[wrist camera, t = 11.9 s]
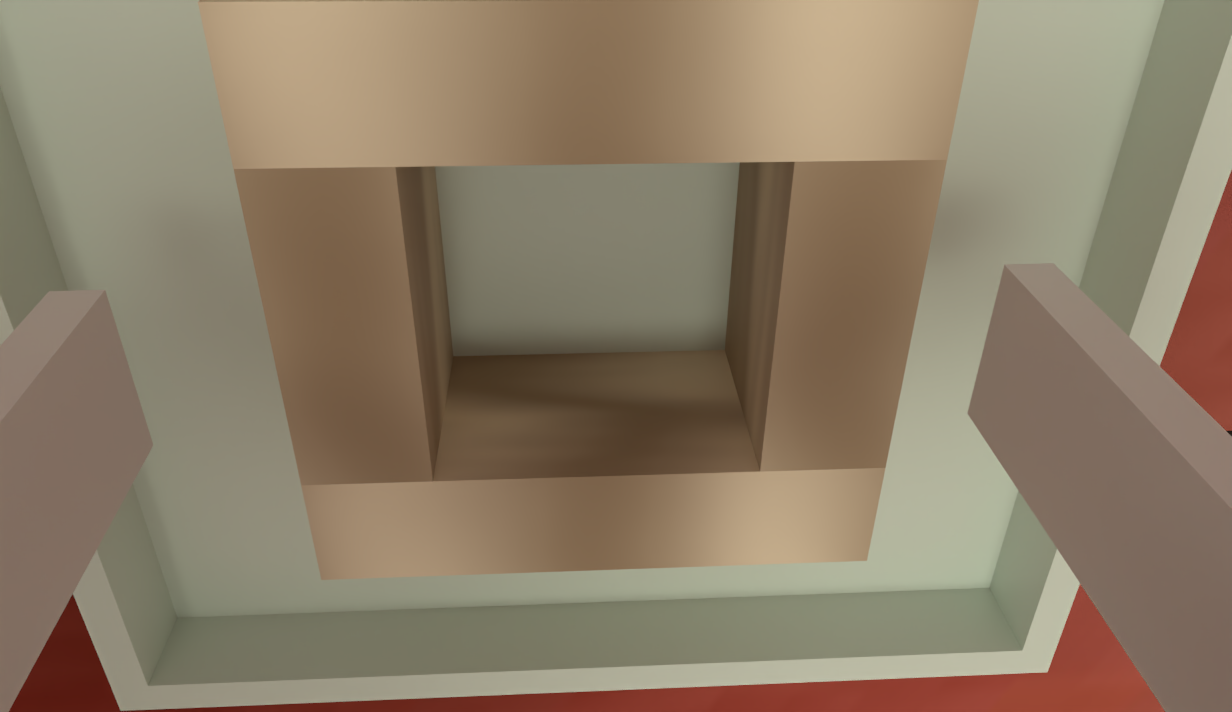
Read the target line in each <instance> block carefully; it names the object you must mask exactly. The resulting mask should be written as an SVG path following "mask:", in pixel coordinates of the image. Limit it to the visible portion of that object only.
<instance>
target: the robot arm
mask: <svg viewBox="0 0 1232 712" xmlns="http://www.w3.org/2000/svg"><path fill="white" fill-rule="evenodd" d="M967 414H968V415H969V417H970V418H971V420H972V421H973V423H974V424H975V426H976V427H977V429H978V430H979V432H980V433H981V435H982V436H983V438H984V439H985V441H986V442H987V444H988V445H989V447H990V448H991V450H992V451H993V453H994V454H995V456H996V457H997V459H998V460H999V462H1000V464H1001V465H1002V467H1003V468H1004V470H1005V471H1006V473H1007V474H1008V476H1009V477H1010V479H1011V480H1012V482H1013V483H1014V485H1015V486H1016V488H1017V489H1018V491H1019V492H1020V494H1021V495H1022V497H1023V498H1024V500H1025V501H1026V503H1027V504H1028V506H1029V507H1030V509H1031V510H1032V512H1033V513H1034V515H1035V516H1036V518H1037V519H1038V521H1039V522H1040V524H1041V525H1042V527H1043V528H1044V530H1045V531H1046V533H1047V534H1048V536H1049V537H1050V539H1051V540H1052V542H1053V543H1054V545H1055V546H1056V548H1057V549H1058V551H1059V552H1060V554H1061V555H1062V557H1063V558H1064V560H1065V561H1066V563H1067V564H1068V566H1069V567H1070V569H1071V570H1072V572H1073V573H1074V575H1075V576H1076V578H1077V579H1078V581H1079V582H1080V584H1081V586H1082V587H1083V589H1084V590H1085V592H1086V593H1087V595H1088V596H1089V598H1090V599H1091V601H1092V602H1093V604H1094V605H1095V607H1096V608H1097V610H1098V611H1099V613H1100V614H1101V616H1102V617H1103V619H1104V620H1105V622H1106V623H1107V625H1108V626H1109V628H1110V629H1111V631H1112V632H1113V634H1114V635H1115V637H1116V638H1117V640H1118V641H1119V643H1120V644H1121V646H1122V647H1123V649H1124V650H1125V652H1126V653H1127V655H1128V656H1129V658H1130V659H1131V661H1132V662H1133V664H1134V665H1135V667H1136V668H1137V670H1138V671H1139V673H1140V674H1141V676H1142V677H1143V679H1144V680H1145V682H1146V683H1147V685H1148V686H1149V688H1150V689H1151V691H1152V692H1153V694H1154V695H1155V697H1156V698H1157V700H1158V701H1159V703H1160V704H1161V706H1162V707H1163V709H1164V711H1165V712H1232V431H1225V430H1224V429H1223V428H1222V427H1221V426H1220V425H1219V424H1218V423H1217V422H1216V421H1215V420H1214V419H1213V418H1212V417H1211V416H1210V415H1209V414H1208V413H1207V412H1206V411H1205V410H1204V409H1203V408H1202V407H1201V406H1200V405H1199V404H1198V403H1197V402H1196V401H1195V400H1194V399H1193V398H1192V397H1191V396H1189V395H1188V394H1187V393H1186V392H1185V391H1184V390H1183V389H1182V388H1181V387H1180V386H1179V385H1178V384H1177V383H1176V382H1175V381H1174V380H1173V379H1172V378H1171V377H1170V376H1169V375H1168V374H1167V373H1166V372H1165V371H1164V370H1163V369H1162V368H1161V367H1160V366H1159V365H1158V364H1157V363H1156V362H1154V361H1153V360H1152V359H1151V358H1150V357H1149V356H1148V355H1147V354H1146V353H1145V352H1144V351H1143V350H1142V349H1141V348H1140V347H1139V346H1138V345H1137V344H1136V343H1135V342H1134V341H1133V340H1132V339H1131V338H1130V337H1129V336H1128V335H1127V334H1126V333H1125V332H1124V331H1123V330H1122V329H1121V328H1120V327H1118V326H1117V325H1116V324H1115V323H1114V322H1113V321H1112V320H1111V319H1110V318H1109V317H1108V316H1107V315H1106V314H1105V313H1104V312H1103V311H1102V310H1101V309H1100V308H1099V307H1098V306H1097V305H1096V304H1095V303H1094V302H1093V301H1092V300H1091V299H1090V298H1089V297H1088V296H1087V295H1086V294H1085V293H1084V292H1082V291H1081V290H1080V289H1079V288H1078V287H1077V286H1076V285H1075V284H1074V283H1073V282H1072V281H1071V280H1070V279H1069V278H1068V277H1067V276H1066V275H1065V274H1064V273H1063V272H1062V271H1061V270H1060V269H1059V268H1058V267H1057V266H1056V265H1055V264H1054V263H1041V264H1005V265H1004V268H1003V272H1002V276H1001V280H1000V284H999V288H998V292H997V296H996V300H995V304H994V308H993V312H992V316H991V320H990V324H989V328H988V332H987V336H986V340H985V344H984V348H983V352H982V356H981V360H980V364H979V368H978V373H977V377H976V381H975V385H974V389H973V393H972V397H971V401H970V405H969V409H968V413H967ZM152 447H153V442H152V439H151V436H150V432H149V429H148V426H147V423H146V420H145V416H144V413H143V410H142V407H141V403H140V400H139V397H138V394H137V391H136V387H135V384H134V381H133V378H132V375H131V371H130V368H129V365H128V362H127V358H126V355H125V352H124V349H123V346H122V342H121V339H120V336H119V333H118V329H117V326H116V323H115V320H114V317H113V313H112V310H111V307H110V304H109V300H108V297H107V294H106V291H105V290H76V291H49V292H48V293H47V294H46V295H45V296H44V297H43V299H42V300H41V301H40V302H39V303H38V304H37V305H36V306H35V307H34V309H33V310H32V311H31V312H30V313H29V314H28V315H27V316H26V318H25V319H24V320H23V321H22V322H21V323H20V324H19V325H18V326H17V328H16V329H15V330H14V331H13V332H12V333H11V334H10V335H9V337H8V338H7V339H6V340H5V341H4V342H3V343H2V344H1V346H0V712H9V710H10V708H11V707H12V705H13V703H14V701H15V699H16V697H17V696H18V694H19V692H20V690H21V688H22V686H23V684H24V683H25V681H26V679H27V677H28V675H29V673H30V672H31V670H32V668H33V666H34V664H35V662H36V661H37V659H38V657H39V655H40V653H41V651H42V649H43V648H44V646H45V644H46V642H47V640H48V638H49V637H50V635H51V633H52V631H53V629H54V627H55V626H56V624H57V622H58V620H59V618H60V616H61V615H62V613H63V611H64V609H65V607H66V605H67V603H68V602H69V600H70V598H71V596H72V594H73V592H74V591H75V589H76V587H77V585H78V583H79V581H80V580H81V578H82V576H83V574H84V572H85V570H86V568H87V567H88V565H89V563H90V561H91V559H92V557H93V556H94V554H95V552H96V550H97V548H98V546H99V545H100V543H101V541H102V539H103V537H104V535H105V534H106V532H107V530H108V528H109V526H110V524H111V522H112V521H113V519H114V517H115V515H116V513H117V511H118V510H119V508H120V506H121V504H122V502H123V500H124V499H125V497H126V495H127V493H128V491H129V489H130V487H131V486H132V484H133V482H134V480H135V478H136V476H137V475H138V473H139V471H140V469H141V467H142V465H143V464H144V462H145V460H146V458H147V456H148V454H149V453H150V451H151V449H152Z"/></svg>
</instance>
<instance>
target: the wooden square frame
mask: <svg viewBox="0 0 1232 712" xmlns="http://www.w3.org/2000/svg"><path fill="white" fill-rule="evenodd" d="M978 2H979V0H200V1H198V6H199V10H200V15H201V20H202V24H203V29H204V34H205V38H206V43H207V48H208V52H209V57H210V62H211V66H212V71H213V76H214V80H215V85H216V90H217V94H218V99H219V104H220V108H221V113H222V118H223V123H224V127H225V132H226V137H227V141H228V146H229V151H230V155H231V160H232V165H233V169H234V174H235V179H236V183H237V188H238V193H239V197H240V202H241V207H242V211H243V216H244V221H245V225H246V230H247V235H248V239H249V244H250V249H251V253H252V258H253V263H254V267H255V272H256V277H257V281H258V286H259V291H260V296H261V300H262V305H263V310H264V314H265V319H266V324H267V328H268V333H269V338H270V342H271V347H272V352H273V356H274V361H275V366H276V370H277V375H278V380H279V384H280V389H281V394H282V398H283V403H284V408H285V412H286V417H287V422H288V426H289V431H290V436H291V440H292V445H293V450H294V454H295V459H296V464H297V468H298V473H299V478H300V483H301V487H302V492H303V497H304V501H305V506H306V511H307V515H308V520H309V525H310V529H311V534H312V539H313V543H314V548H315V553H316V557H317V562H318V567H319V571H320V576H321V580H335V579H364V578H392V577H421V576H449V575H478V574H506V573H535V572H563V571H591V570H620V569H648V568H677V567H705V566H734V565H762V564H791V563H819V562H848V561H867V558H868V553H869V548H870V543H871V538H872V533H873V528H874V523H875V518H876V513H877V508H878V503H879V498H880V493H881V488H882V483H883V478H884V473H885V468H886V463H887V458H888V453H889V448H890V443H891V438H892V433H893V428H894V423H895V418H896V413H897V408H898V403H899V398H900V393H901V388H902V383H903V378H904V373H905V368H906V363H907V358H908V353H909V348H910V343H911V338H912V333H913V328H914V323H915V318H916V313H917V308H918V303H919V298H920V293H921V288H922V283H923V278H924V273H925V268H926V263H927V258H928V253H929V248H930V243H931V238H932V233H933V228H934V223H935V218H936V213H937V208H938V203H939V198H940V193H941V188H942V183H943V178H944V173H945V168H946V163H947V158H948V153H949V148H950V143H951V138H952V133H953V128H954V123H955V118H956V113H957V108H958V103H959V98H960V93H961V88H962V83H963V78H964V73H965V68H966V63H967V58H968V53H969V48H970V43H971V38H972V33H973V28H974V23H975V18H976V12H977V7H978ZM735 162H740V165H739V178H738V190H737V203H736V215H735V228H734V240H733V253H732V265H731V278H730V290H729V303H728V315H727V328H726V340H725V350H702V351H659V352H616V353H573V354H530V355H487V356H453V348H452V337H451V327H450V317H449V306H448V296H447V286H446V275H445V265H444V255H443V244H442V234H441V224H440V213H439V203H438V193H437V182H436V172H435V166H502V165H580V164H657V163H735Z"/></svg>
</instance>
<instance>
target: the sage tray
mask: <svg viewBox="0 0 1232 712" xmlns="http://www.w3.org/2000/svg"><path fill="white" fill-rule="evenodd" d="M198 1H200V0H0V346H1V344H2V343H3V342H4V341H5V340H6V339H7V338H8V337H9V335H10V334H11V333H12V332H13V331H14V330H15V329H16V328H17V326H18V325H19V324H20V323H21V322H22V321H23V320H24V319H25V318H26V316H27V315H28V314H29V313H30V312H31V311H32V310H33V309H34V307H35V306H36V305H37V304H38V303H39V302H40V301H41V300H42V299H43V297H44V296H45V295H46V294H47V293H48V292H49V291H76V290H105V291H106V294H107V297H108V300H109V304H110V307H111V310H112V313H113V317H114V320H115V323H116V326H117V329H118V333H119V336H120V339H121V342H122V346H123V349H124V352H125V355H126V358H127V362H128V365H129V368H130V371H131V375H132V378H133V381H134V384H135V387H136V391H137V394H138V397H139V400H140V403H141V407H142V410H143V413H144V416H145V420H146V423H147V426H148V429H149V432H150V436H151V439H152V442H153V447H152V449H151V451H150V453H149V454H148V456H147V458H146V460H145V462H144V464H143V465H142V467H141V469H140V471H139V473H138V475H137V476H136V478H135V480H134V482H133V484H132V486H131V487H130V489H129V491H128V493H127V495H126V497H125V499H124V500H123V502H122V504H121V506H120V508H119V510H118V511H117V513H116V515H115V517H114V519H113V521H112V522H111V524H110V526H109V528H108V530H107V532H106V534H105V535H104V537H103V539H102V541H101V543H100V545H99V546H98V548H97V550H96V552H95V554H94V556H93V557H92V559H91V561H90V563H89V565H88V567H87V568H86V570H85V572H84V574H83V576H82V578H81V580H80V581H79V583H78V585H77V587H76V589H75V591H74V592H73V595H74V598H75V600H76V603H77V605H78V608H79V610H80V613H81V615H82V618H83V620H84V622H85V625H86V627H87V630H88V632H89V635H90V637H91V640H92V642H93V644H94V647H95V649H96V652H97V654H98V657H99V659H100V662H101V664H102V667H103V669H104V671H105V674H106V676H107V679H108V681H109V684H110V686H111V689H112V691H113V694H114V696H115V698H116V701H117V703H118V706H119V708H120V711H129V710H153V709H177V708H201V707H225V706H249V705H273V704H297V703H321V702H345V701H369V700H393V699H417V698H441V697H465V696H489V695H513V694H537V693H561V692H585V691H609V690H633V689H656V688H680V687H704V686H728V685H752V684H776V683H800V682H824V681H848V680H872V679H896V678H920V677H944V676H968V675H992V674H1016V673H1040V672H1048V669H1049V666H1050V664H1051V661H1052V658H1053V655H1054V653H1055V650H1056V647H1057V645H1058V642H1059V639H1060V636H1061V634H1062V631H1063V628H1064V625H1065V623H1066V620H1067V617H1068V615H1069V612H1070V609H1071V606H1072V604H1073V601H1074V598H1075V595H1076V593H1077V590H1078V587H1079V585H1080V582H1079V581H1078V579H1077V578H1076V576H1075V575H1074V573H1073V572H1072V570H1071V569H1070V567H1069V566H1068V564H1067V563H1066V561H1065V560H1064V558H1063V557H1062V555H1061V554H1060V552H1059V551H1058V549H1057V548H1056V546H1055V545H1054V543H1053V542H1052V540H1051V539H1050V537H1049V536H1048V534H1047V533H1046V531H1045V530H1044V528H1043V527H1042V525H1041V524H1040V522H1039V521H1038V519H1037V518H1036V516H1035V515H1034V513H1033V512H1032V510H1031V509H1030V507H1029V506H1028V504H1027V503H1026V501H1025V500H1024V498H1023V497H1022V495H1021V494H1020V492H1019V491H1018V489H1017V488H1016V486H1015V485H1014V483H1013V482H1012V480H1011V479H1010V477H1009V476H1008V474H1007V473H1006V471H1005V470H1004V468H1003V467H1002V465H1001V464H1000V462H999V460H998V459H997V457H996V456H995V454H994V453H993V451H992V450H991V448H990V447H989V445H988V444H987V442H986V441H985V439H984V438H983V436H982V435H981V433H980V432H979V430H978V429H977V427H976V426H975V424H974V423H973V421H972V420H971V418H970V417H969V415H968V414H967V413H968V409H969V405H970V401H971V397H972V393H973V389H974V385H975V381H976V377H977V373H978V368H979V364H980V360H981V356H982V352H983V348H984V344H985V340H986V336H987V332H988V328H989V324H990V320H991V316H992V312H993V308H994V304H995V300H996V296H997V292H998V288H999V284H1000V280H1001V276H1002V272H1003V268H1004V265H1005V264H1041V263H1054V264H1055V265H1056V266H1057V267H1058V268H1059V269H1060V270H1061V271H1062V272H1063V273H1064V274H1065V275H1066V276H1067V277H1068V278H1069V279H1070V280H1071V281H1072V282H1073V283H1074V284H1075V285H1076V286H1077V287H1078V288H1079V289H1080V290H1081V291H1082V292H1084V293H1085V294H1086V295H1087V296H1088V297H1089V298H1090V299H1091V300H1092V301H1093V302H1094V303H1095V304H1096V305H1097V306H1098V307H1099V308H1100V309H1101V310H1102V311H1103V312H1104V313H1105V314H1106V315H1107V316H1108V317H1109V318H1110V319H1111V320H1112V321H1113V322H1114V323H1115V324H1116V325H1117V326H1118V327H1120V328H1121V329H1122V330H1123V331H1124V332H1125V333H1126V334H1127V335H1128V336H1129V337H1130V338H1131V339H1132V340H1133V341H1134V342H1135V343H1136V344H1137V345H1138V346H1139V347H1140V348H1141V349H1142V350H1143V351H1144V352H1145V353H1146V354H1147V355H1148V356H1149V357H1150V358H1151V359H1152V360H1153V361H1154V362H1156V363H1157V364H1158V365H1159V366H1160V363H1161V361H1162V358H1163V355H1164V352H1165V350H1166V347H1167V344H1168V342H1169V339H1170V336H1171V333H1172V331H1173V328H1174V325H1175V322H1176V320H1177V317H1178V314H1179V312H1180V309H1181V306H1182V303H1183V301H1184V298H1185V295H1186V292H1187V290H1188V287H1189V284H1190V282H1191V279H1192V276H1193V273H1194V271H1195V268H1196V265H1197V262H1198V260H1199V257H1200V254H1201V251H1202V249H1203V246H1204V243H1205V241H1206V238H1207V235H1208V232H1209V230H1210V227H1211V224H1212V221H1213V219H1214V216H1215V213H1216V211H1217V208H1218V205H1219V202H1220V200H1221V197H1222V194H1223V191H1224V189H1225V186H1226V183H1227V181H1228V178H1229V175H1230V172H1231V170H1232V0H979V2H978V7H977V12H976V18H975V23H974V28H973V33H972V38H971V43H970V48H969V53H968V58H967V63H966V68H965V73H964V78H963V83H962V88H961V93H960V98H959V103H958V108H957V113H956V118H955V123H954V128H953V133H952V138H951V143H950V148H949V153H948V158H947V163H946V168H945V173H944V178H943V183H942V188H941V193H940V198H939V203H938V208H937V213H936V218H935V223H934V228H933V233H932V238H931V243H930V248H929V253H928V258H927V263H926V268H925V273H924V278H923V283H922V288H921V293H920V298H919V303H918V308H917V313H916V318H915V323H914V328H913V333H912V338H911V343H910V348H909V353H908V358H907V363H906V368H905V373H904V378H903V383H902V388H901V393H900V398H899V403H898V408H897V413H896V418H895V423H894V428H893V433H892V438H891V443H890V448H889V453H888V458H887V463H886V468H885V473H884V478H883V483H882V488H881V493H880V498H879V503H878V508H877V513H876V518H875V523H874V528H873V533H872V538H871V543H870V548H869V553H868V558H867V561H848V562H819V563H791V564H762V565H734V566H705V567H677V568H648V569H620V570H591V571H563V572H535V573H506V574H478V575H449V576H421V577H392V578H364V579H335V580H321V576H320V571H319V567H318V562H317V557H316V553H315V548H314V543H313V539H312V534H311V529H310V525H309V520H308V515H307V511H306V506H305V501H304V497H303V492H302V487H301V483H300V478H299V473H298V468H297V464H296V459H295V454H294V450H293V445H292V440H291V436H290V431H289V426H288V422H287V417H286V412H285V408H284V403H283V398H282V394H281V389H280V384H279V380H278V375H277V370H276V366H275V361H274V356H273V352H272V347H271V342H270V338H269V333H268V328H267V324H266V319H265V314H264V310H263V305H262V300H261V296H260V291H259V286H258V281H257V277H256V272H255V267H254V263H253V258H252V253H251V249H250V244H249V239H248V235H247V230H246V225H245V221H244V216H243V211H242V207H241V202H240V197H239V193H238V188H237V183H236V179H235V174H234V169H233V165H232V160H231V155H230V151H229V146H228V141H227V137H226V132H225V127H224V123H223V118H222V113H221V108H220V104H219V99H218V94H217V90H216V85H215V80H214V76H213V71H212V66H211V62H210V57H209V52H208V48H207V43H206V38H205V34H204V29H203V24H202V20H201V15H200V10H199V6H198ZM739 165H740V162H735V163H657V164H580V165H502V166H435V172H436V182H437V193H438V203H439V213H440V224H441V234H442V244H443V255H444V265H445V275H446V286H447V296H448V306H449V317H450V327H451V337H452V348H453V356H487V355H530V354H573V353H616V352H659V351H702V350H725V340H726V328H727V315H728V303H729V290H730V278H731V265H732V253H733V240H734V228H735V215H736V203H737V190H738V178H739Z"/></svg>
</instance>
